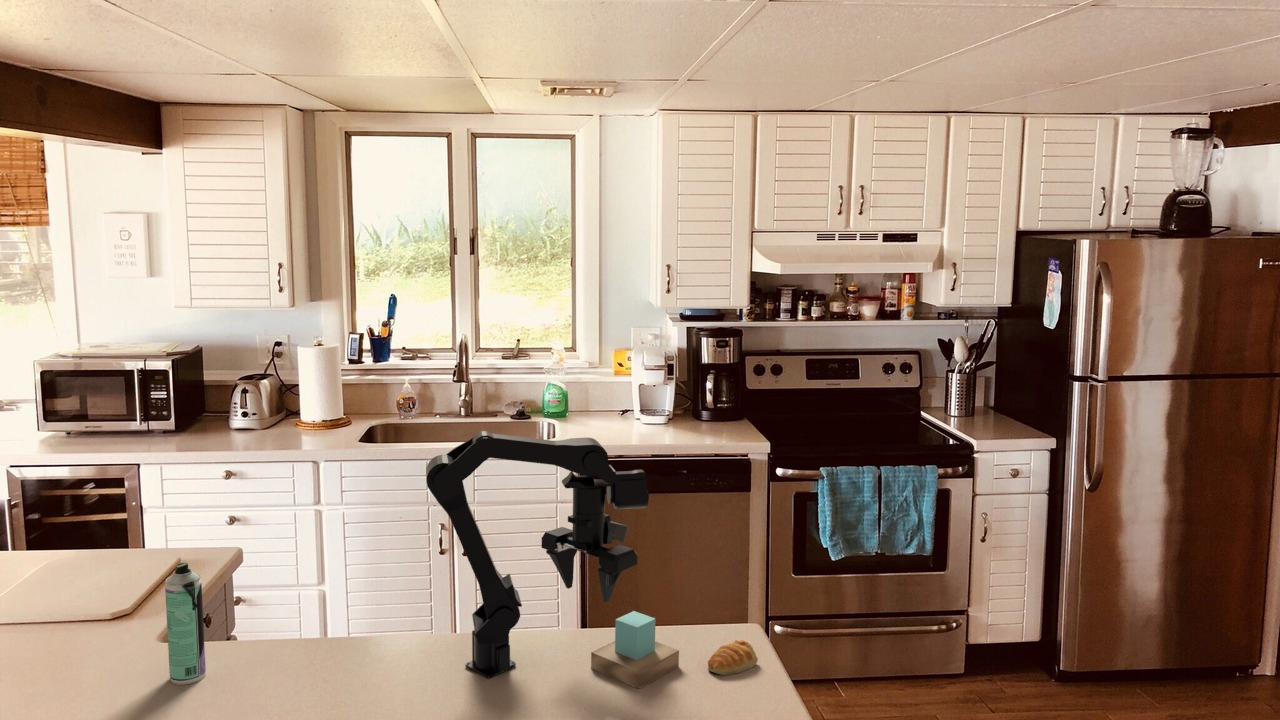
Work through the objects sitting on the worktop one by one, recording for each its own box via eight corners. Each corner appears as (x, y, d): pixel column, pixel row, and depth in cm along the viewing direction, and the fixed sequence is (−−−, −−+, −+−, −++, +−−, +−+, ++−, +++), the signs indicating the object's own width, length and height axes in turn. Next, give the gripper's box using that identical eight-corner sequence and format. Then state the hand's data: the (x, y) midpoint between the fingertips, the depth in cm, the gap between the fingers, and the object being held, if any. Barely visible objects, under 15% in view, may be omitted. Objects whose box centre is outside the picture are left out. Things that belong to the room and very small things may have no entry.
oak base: (591, 668, 163) (591, 652, 162) (631, 647, 171) (632, 632, 171) (638, 688, 156) (638, 671, 155) (678, 666, 164) (679, 650, 163)
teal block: (615, 651, 162) (615, 619, 162) (633, 642, 166) (633, 610, 165) (636, 660, 159) (637, 627, 159) (654, 650, 163) (655, 618, 162)
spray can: (213, 672, 159) (207, 561, 156) (188, 687, 153) (182, 571, 151) (188, 667, 160) (182, 556, 158) (162, 681, 155) (156, 567, 153)
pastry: (727, 682, 159) (727, 661, 158) (697, 669, 164) (698, 649, 163) (760, 665, 165) (761, 645, 165) (731, 653, 170) (731, 633, 170)
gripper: (658, 511, 163) (656, 596, 165) (582, 491, 175) (581, 570, 177) (616, 525, 155) (614, 614, 157) (539, 503, 167) (539, 585, 169)
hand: (587, 594), depth 165 cm, fingers open, 9 cm apart
